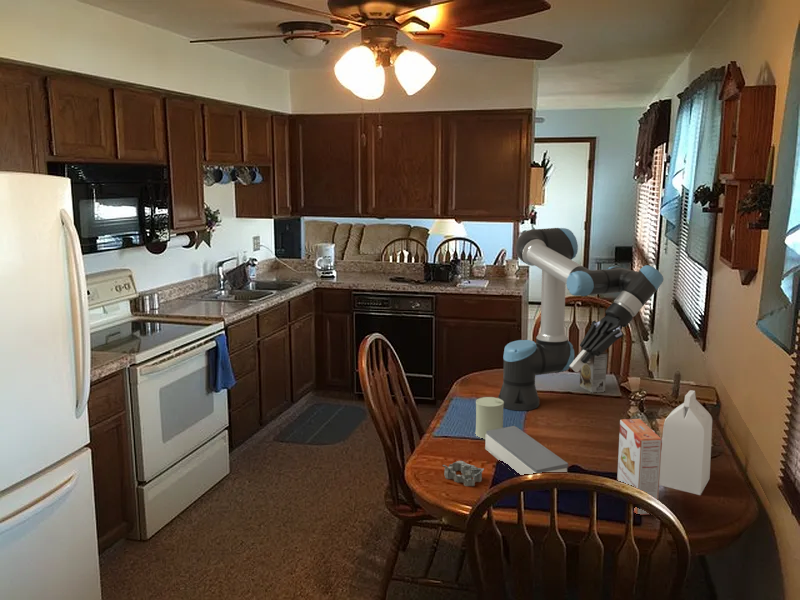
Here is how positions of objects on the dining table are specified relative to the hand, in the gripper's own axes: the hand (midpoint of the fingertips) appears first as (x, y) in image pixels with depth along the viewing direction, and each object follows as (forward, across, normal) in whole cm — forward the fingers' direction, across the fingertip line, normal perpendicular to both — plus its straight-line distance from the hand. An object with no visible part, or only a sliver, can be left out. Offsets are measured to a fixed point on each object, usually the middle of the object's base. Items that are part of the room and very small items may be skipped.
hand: (573, 369), depth 205 cm
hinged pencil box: (+31, 0, -8) cm, 32 cm away
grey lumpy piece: (+46, -1, +5) cm, 46 cm away
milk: (+5, -25, -35) cm, 43 cm away
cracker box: (+20, -30, -20) cm, 41 cm away
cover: (+27, 0, -5) cm, 28 cm away
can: (+30, +25, -10) cm, 40 cm away
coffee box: (-12, +52, -52) cm, 74 cm away
